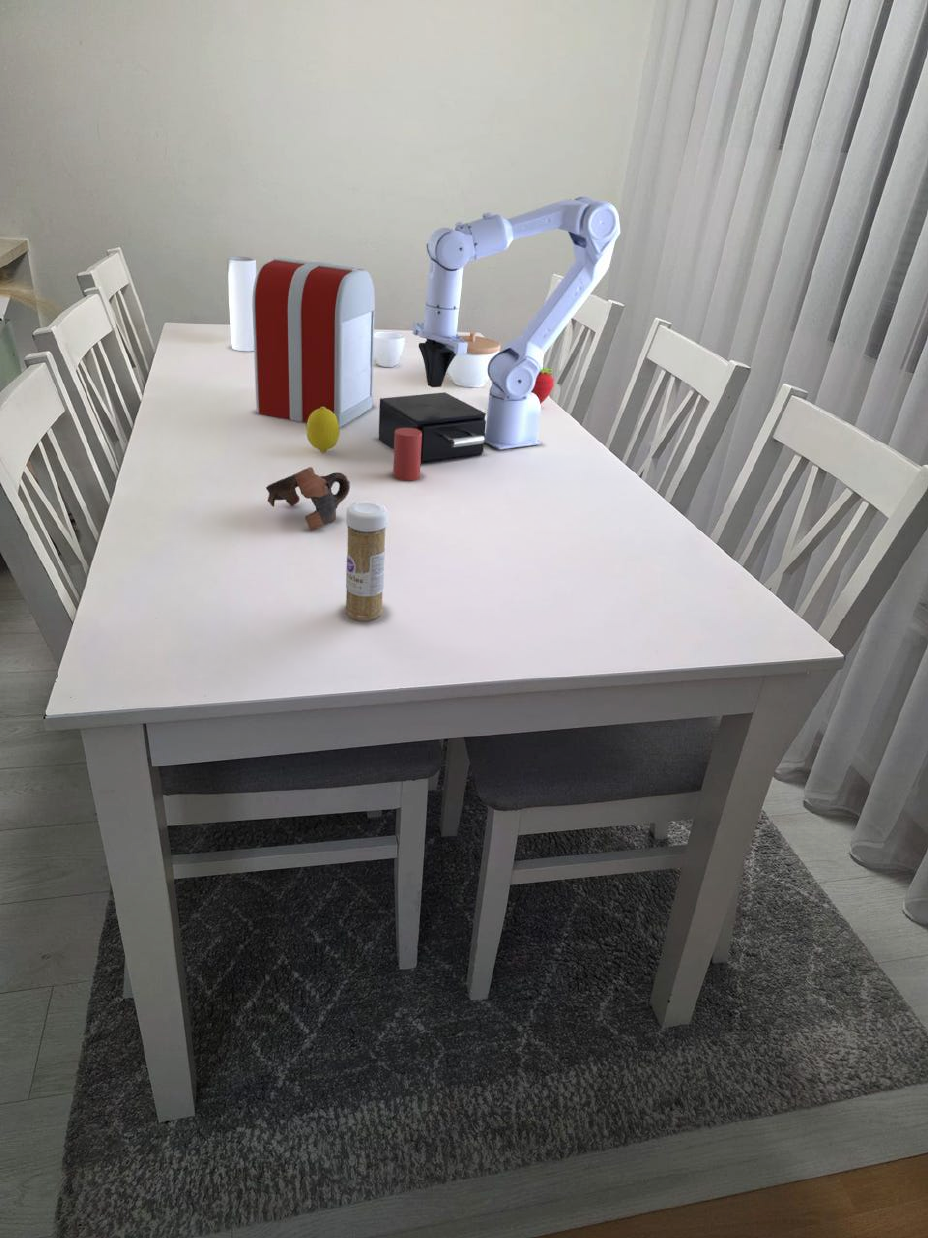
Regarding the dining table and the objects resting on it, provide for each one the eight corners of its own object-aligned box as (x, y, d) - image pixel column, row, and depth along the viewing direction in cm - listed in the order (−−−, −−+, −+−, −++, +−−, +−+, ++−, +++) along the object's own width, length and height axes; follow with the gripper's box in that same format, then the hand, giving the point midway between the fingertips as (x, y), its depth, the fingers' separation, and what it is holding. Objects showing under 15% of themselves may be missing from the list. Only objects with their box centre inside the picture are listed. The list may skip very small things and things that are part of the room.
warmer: (481, 454, 157) (485, 413, 154) (415, 464, 151) (417, 420, 147) (442, 431, 167) (444, 392, 163) (378, 439, 160) (379, 398, 157)
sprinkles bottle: (337, 612, 105) (337, 506, 98) (364, 599, 108) (367, 496, 101) (364, 626, 102) (366, 519, 96) (391, 613, 105) (396, 508, 99)
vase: (232, 351, 208) (227, 260, 198) (231, 343, 214) (226, 255, 204) (280, 352, 211) (278, 262, 201) (279, 344, 217) (276, 257, 207)
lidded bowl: (506, 383, 201) (511, 333, 196) (478, 394, 192) (482, 342, 186) (460, 372, 207) (463, 323, 201) (430, 382, 197) (433, 331, 192)
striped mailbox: (338, 428, 164) (339, 274, 151) (253, 412, 168) (247, 261, 155) (374, 406, 178) (378, 263, 165) (295, 392, 182) (293, 252, 169)
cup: (406, 369, 205) (407, 339, 202) (363, 368, 202) (364, 338, 199) (400, 360, 211) (401, 331, 208) (358, 360, 209) (359, 330, 205)
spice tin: (411, 469, 148) (413, 426, 144) (424, 478, 145) (427, 434, 141) (388, 473, 146) (389, 429, 142) (401, 482, 143) (403, 437, 139)
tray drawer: (497, 461, 153) (500, 428, 150) (436, 470, 146) (438, 436, 144) (446, 431, 165) (448, 400, 162) (387, 438, 158) (388, 406, 156)
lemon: (333, 459, 149) (333, 413, 145) (302, 455, 150) (301, 409, 146) (343, 449, 154) (344, 404, 150) (313, 445, 155) (312, 400, 151)
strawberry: (542, 402, 190) (548, 355, 185) (555, 412, 184) (562, 364, 179) (516, 402, 189) (521, 354, 184) (529, 412, 182) (534, 364, 177)
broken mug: (295, 540, 122) (269, 484, 120) (277, 543, 130) (253, 491, 128) (369, 505, 127) (345, 451, 125) (347, 510, 135) (324, 460, 133)
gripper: (400, 296, 152) (394, 375, 159) (445, 315, 142) (436, 398, 149) (435, 297, 156) (427, 374, 163) (481, 315, 146) (471, 396, 152)
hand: (434, 385), depth 156 cm, fingers closed
